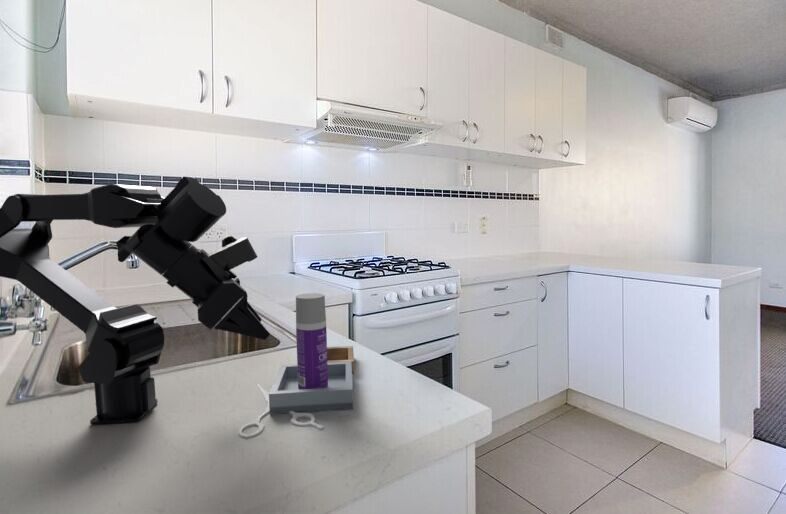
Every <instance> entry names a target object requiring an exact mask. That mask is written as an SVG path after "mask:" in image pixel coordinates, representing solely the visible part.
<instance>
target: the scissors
mask: <svg viewBox="0 0 786 514" xmlns="http://www.w3.org/2000/svg"><path fill="white" fill-rule="evenodd" d="M256 385H257V388H258V389H259V391H260V393H261V395H262V396H263V398H264V400H265V402H266V403H267V404H266V407H265V410H264V412H263V413H261V414H258V415H257V418H256V419H255V420H253V421H251V422H248V423H245V424H244V425H243V426H241V427H240V428H239V429H238V435H239V436H240V437H242V438H245V439H246V438H247V439H248V438H253V437H255V436H258V435H260V434H261V432H263V431H264V429H265V424H263V423H261V419H263V418H264V417H266V415H268V414H270V409H269V392H268V391H266V390H265V389H264V388H263V387H262V386H261V385H259V384H258V383H256ZM288 414H290V415H292V418H291V419H290V423H291V424H292V425H294V426H298V427H308V426H310V427H311V426H312V427H314V428H317V430H319V431H320V430H323V429H324V425H323V424H318V423H316V422H315V421H316V417H315V416H314V415H313V414H311V413H309V412H294V411H289V413H288ZM301 417H306V418H309V419H310V421H307V422H306V421H305V422H300V421H297V419H298V418H301ZM253 426H256V427H258V429H257V430H256V431H255V432H251V433H244V432H243V431H244V430H246V429H247V428H250V427H253Z"/></svg>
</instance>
